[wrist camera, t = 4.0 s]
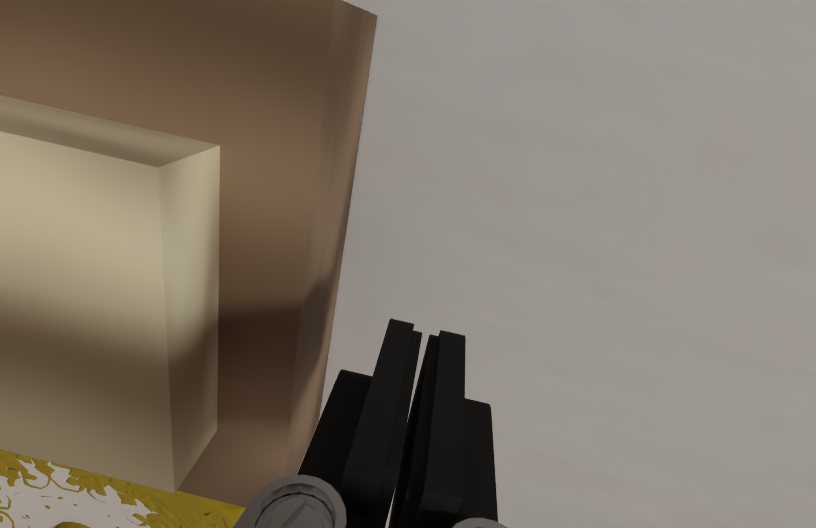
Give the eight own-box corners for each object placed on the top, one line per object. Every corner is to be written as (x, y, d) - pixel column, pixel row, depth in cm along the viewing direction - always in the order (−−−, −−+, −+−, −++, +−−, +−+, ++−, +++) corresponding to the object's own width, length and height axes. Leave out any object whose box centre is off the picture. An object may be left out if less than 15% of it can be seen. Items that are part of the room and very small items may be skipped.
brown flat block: (-73, -82, 12) (-314, -143, 8) (377, 15, 11) (333, -4, 8) (24, 348, 18) (-89, 423, 14) (318, 421, 17) (278, 516, 14)
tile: (-60, 81, 9) (-189, 87, 7) (220, 144, 9) (158, 167, 7) (13, 380, 13) (-62, 433, 11) (217, 430, 13) (174, 493, 11)
